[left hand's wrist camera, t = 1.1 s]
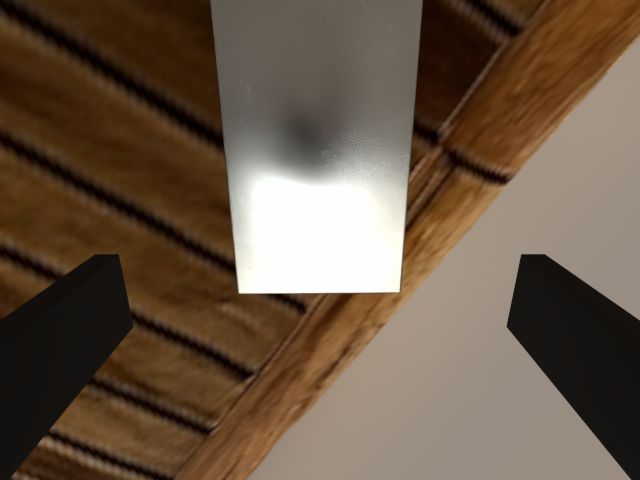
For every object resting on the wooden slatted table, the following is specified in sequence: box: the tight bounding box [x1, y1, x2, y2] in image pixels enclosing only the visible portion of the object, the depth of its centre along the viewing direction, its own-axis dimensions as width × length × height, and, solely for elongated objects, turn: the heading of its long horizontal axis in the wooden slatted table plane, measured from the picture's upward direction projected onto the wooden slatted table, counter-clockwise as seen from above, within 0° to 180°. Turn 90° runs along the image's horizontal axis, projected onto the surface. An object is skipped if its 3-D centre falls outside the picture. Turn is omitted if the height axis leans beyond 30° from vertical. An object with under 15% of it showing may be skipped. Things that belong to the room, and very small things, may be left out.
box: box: [210, 0, 423, 294], centre depth 20 cm, size 26×8×12 cm, turn 0°
